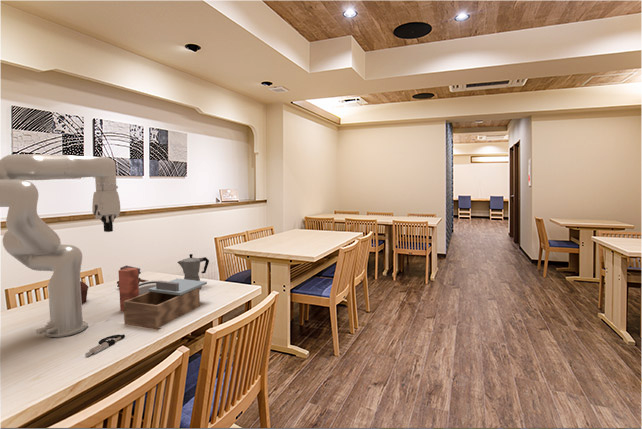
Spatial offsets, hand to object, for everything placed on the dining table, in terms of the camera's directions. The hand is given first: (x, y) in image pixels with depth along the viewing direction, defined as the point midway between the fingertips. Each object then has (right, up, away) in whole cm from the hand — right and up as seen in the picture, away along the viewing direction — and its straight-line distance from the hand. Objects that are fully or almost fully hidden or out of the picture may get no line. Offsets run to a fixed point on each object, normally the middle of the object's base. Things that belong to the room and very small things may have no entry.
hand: (108, 231), depth 152 cm
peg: (+11, -34, -3) cm, 35 cm away
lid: (+30, -24, 0) cm, 38 cm away
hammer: (+4, -31, +30) cm, 43 cm away
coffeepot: (+26, -31, +30) cm, 50 cm away
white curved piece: (+13, -32, +14) cm, 37 cm away
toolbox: (+27, -34, -7) cm, 44 cm away
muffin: (-20, -33, +7) cm, 39 cm away
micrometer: (+18, -37, -33) cm, 53 cm away
